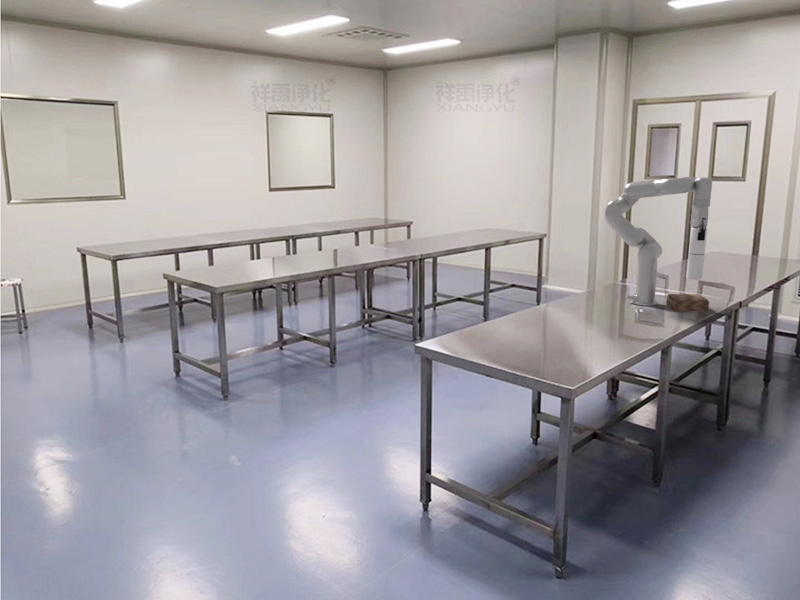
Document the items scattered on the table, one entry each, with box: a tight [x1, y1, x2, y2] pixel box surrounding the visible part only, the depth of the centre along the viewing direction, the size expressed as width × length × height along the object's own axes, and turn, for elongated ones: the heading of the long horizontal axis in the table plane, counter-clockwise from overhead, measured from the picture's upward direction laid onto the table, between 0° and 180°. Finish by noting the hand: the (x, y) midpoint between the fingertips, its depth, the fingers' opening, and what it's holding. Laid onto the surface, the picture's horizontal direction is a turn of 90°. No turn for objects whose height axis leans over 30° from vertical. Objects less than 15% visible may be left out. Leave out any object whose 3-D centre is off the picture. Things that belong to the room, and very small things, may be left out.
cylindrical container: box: [685, 227, 708, 280], centre depth 315 cm, size 7×7×25 cm
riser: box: [665, 293, 710, 313], centre depth 321 cm, size 16×14×6 cm
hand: (697, 239), depth 313 cm, fingers closed on cylindrical container, 7 cm apart
